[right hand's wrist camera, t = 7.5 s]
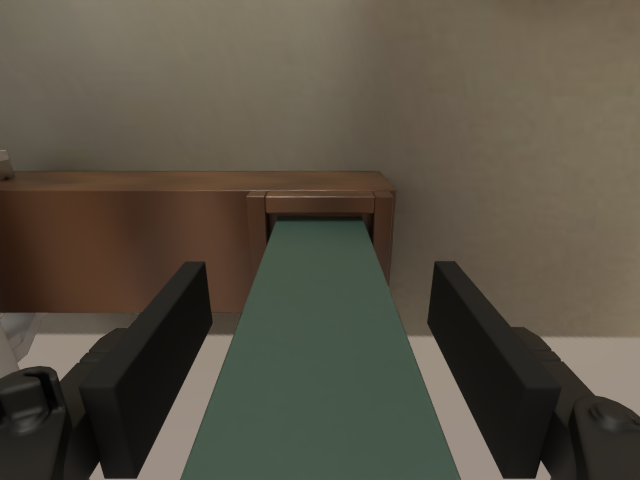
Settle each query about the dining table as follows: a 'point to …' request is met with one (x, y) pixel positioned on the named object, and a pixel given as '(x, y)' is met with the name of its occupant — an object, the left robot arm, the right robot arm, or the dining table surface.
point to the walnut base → (162, 231)
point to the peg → (320, 372)
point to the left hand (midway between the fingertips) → (22, 232)
